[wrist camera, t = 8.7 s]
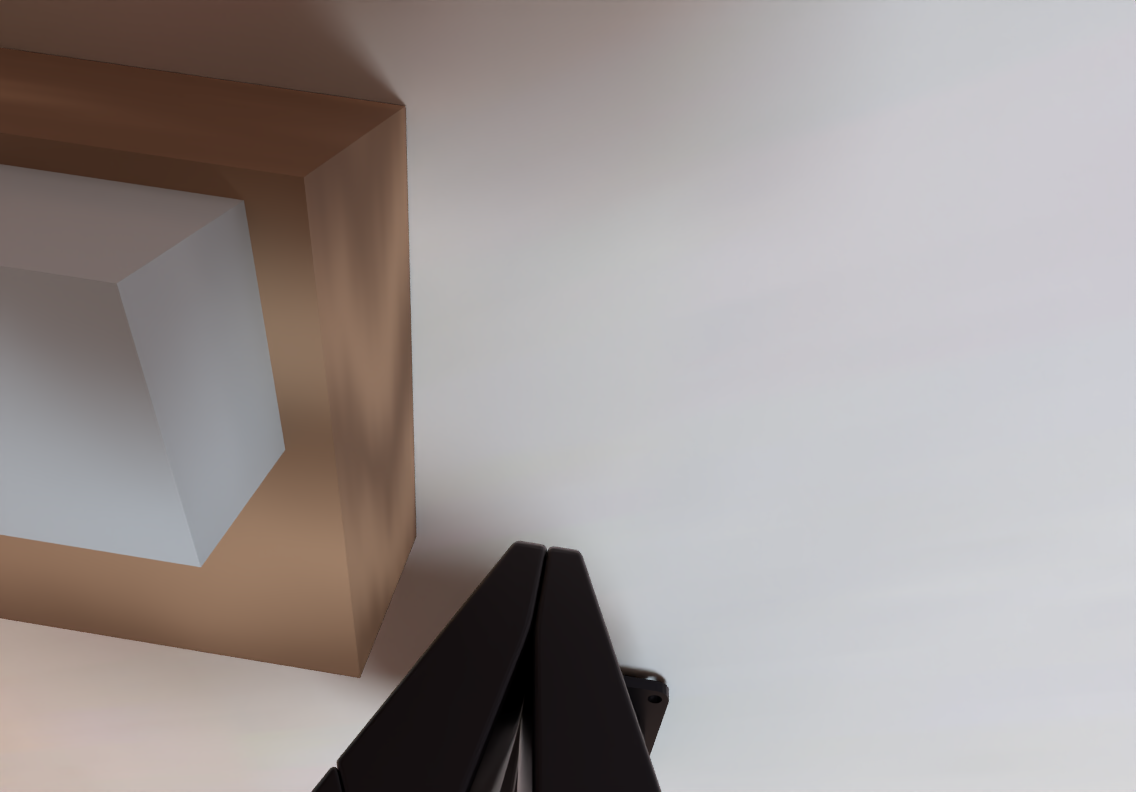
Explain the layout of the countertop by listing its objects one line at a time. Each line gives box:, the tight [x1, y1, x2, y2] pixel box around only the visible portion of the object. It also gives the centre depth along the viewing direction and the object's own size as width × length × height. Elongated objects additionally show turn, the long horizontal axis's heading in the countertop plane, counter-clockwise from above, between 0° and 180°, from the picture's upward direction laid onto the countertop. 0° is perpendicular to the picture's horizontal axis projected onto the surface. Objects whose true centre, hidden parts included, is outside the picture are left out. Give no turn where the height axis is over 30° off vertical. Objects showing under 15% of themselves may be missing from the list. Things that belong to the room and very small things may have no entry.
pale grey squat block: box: [0, 164, 285, 567], centre depth 11 cm, size 5×5×3 cm
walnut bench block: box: [0, 48, 416, 678], centre depth 16 cm, size 13×12×5 cm
